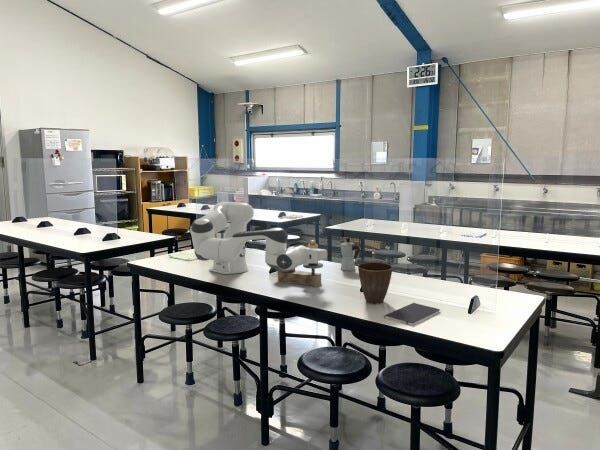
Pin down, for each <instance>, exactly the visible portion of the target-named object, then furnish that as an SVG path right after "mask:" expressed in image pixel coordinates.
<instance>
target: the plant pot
mask: <svg viewBox="0 0 600 450" xmlns="http://www.w3.org/2000/svg"><path fill="white" fill-rule="evenodd" d="M357 269H358V275H359V277H358V278H359V281H360V286H361V290H362V293H363V296H364V299H365V302H366V303H367V304H371V305H380V304H383V302H384V301H385V298H386V296H387V293H388V291H389V290H388V289H389V286H390V283H391V280H392V273H393V269H394V268H393V266H392V265H391V264H389V263H385V262H373V261H372V262H364V263H360V264H358V265H357Z"/></svg>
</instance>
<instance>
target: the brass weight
mask: <svg viewBox="0 0 600 450" xmlns="http://www.w3.org/2000/svg"><path fill="white" fill-rule="evenodd" d="M316 242H317V241H316V240H315V239H311V240H309V243H308V244H307V247H308V248H313V249H319V245H318V243H316ZM318 263H319V262H318ZM318 263H311V264H308V265H318Z"/></svg>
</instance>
